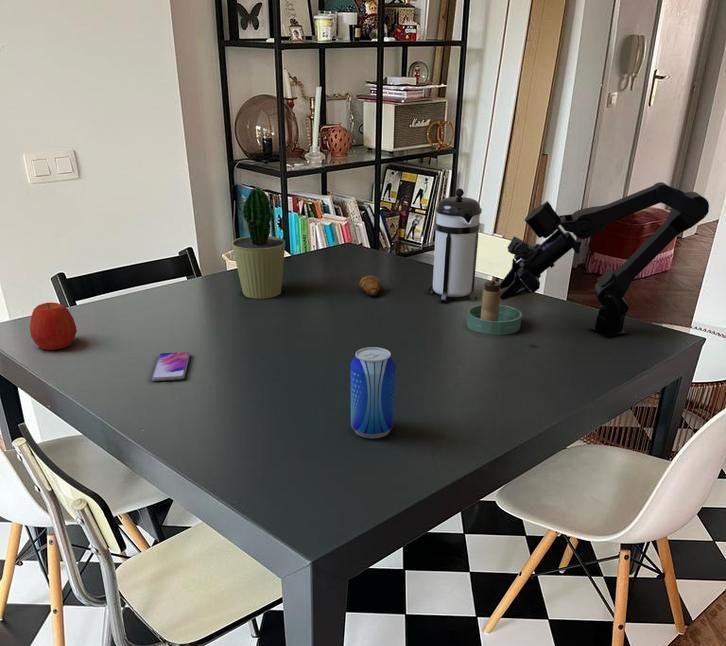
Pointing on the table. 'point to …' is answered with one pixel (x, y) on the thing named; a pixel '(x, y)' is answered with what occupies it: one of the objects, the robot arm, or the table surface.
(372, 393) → the beer can
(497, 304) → the pepper mill
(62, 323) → the apple
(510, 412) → the table surface
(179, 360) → the smartphone
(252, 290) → the potted cactus
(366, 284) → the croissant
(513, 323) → the bowl
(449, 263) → the coffee press
